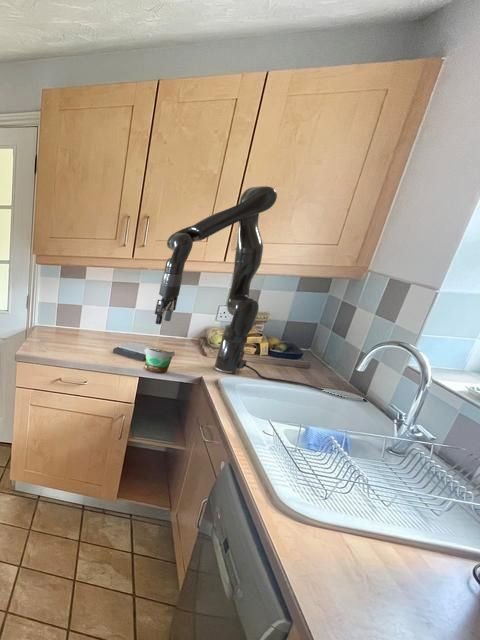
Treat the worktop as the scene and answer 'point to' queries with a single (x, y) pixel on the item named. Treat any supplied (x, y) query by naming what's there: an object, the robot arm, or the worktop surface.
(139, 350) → the scale
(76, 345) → the worktop surface
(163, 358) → the food container
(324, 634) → the worktop surface
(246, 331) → the robot arm
